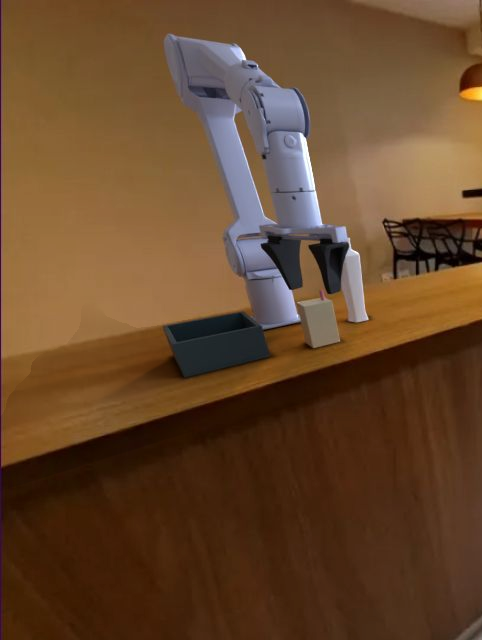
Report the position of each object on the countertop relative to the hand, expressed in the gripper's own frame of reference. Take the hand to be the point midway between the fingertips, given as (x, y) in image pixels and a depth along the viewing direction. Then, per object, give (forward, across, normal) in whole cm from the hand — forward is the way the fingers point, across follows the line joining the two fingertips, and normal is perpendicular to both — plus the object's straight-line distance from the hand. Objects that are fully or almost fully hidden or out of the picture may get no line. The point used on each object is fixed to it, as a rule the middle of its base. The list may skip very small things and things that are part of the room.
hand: (314, 290), depth 66 cm
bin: (+10, -14, -8) cm, 19 cm away
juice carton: (+10, -4, +3) cm, 11 cm away
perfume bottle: (+10, -7, +15) cm, 19 cm away
